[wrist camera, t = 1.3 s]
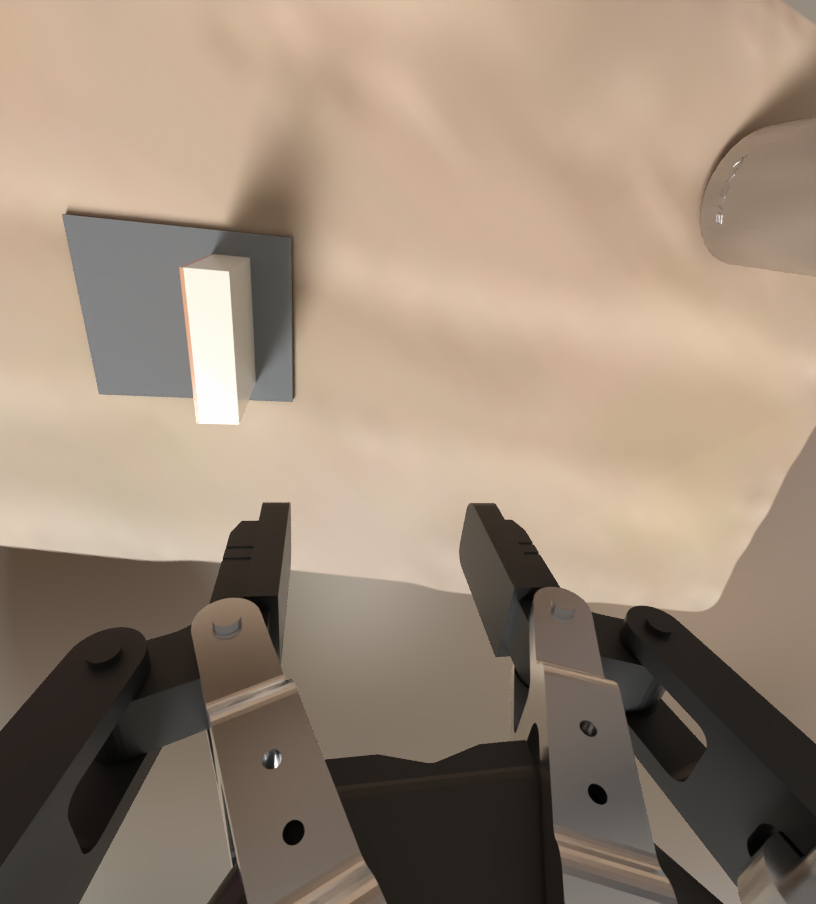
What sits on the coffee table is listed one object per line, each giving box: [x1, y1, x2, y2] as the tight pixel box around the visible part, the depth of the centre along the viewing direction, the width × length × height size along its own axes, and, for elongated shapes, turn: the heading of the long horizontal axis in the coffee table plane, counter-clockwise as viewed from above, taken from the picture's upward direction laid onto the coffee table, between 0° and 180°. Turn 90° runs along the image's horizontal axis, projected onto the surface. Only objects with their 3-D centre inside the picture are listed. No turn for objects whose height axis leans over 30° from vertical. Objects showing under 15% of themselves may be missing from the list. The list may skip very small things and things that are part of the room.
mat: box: [62, 214, 293, 402], centre depth 33 cm, size 14×12×1 cm
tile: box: [179, 254, 256, 425], centre depth 30 cm, size 2×9×8 cm, turn 174°
